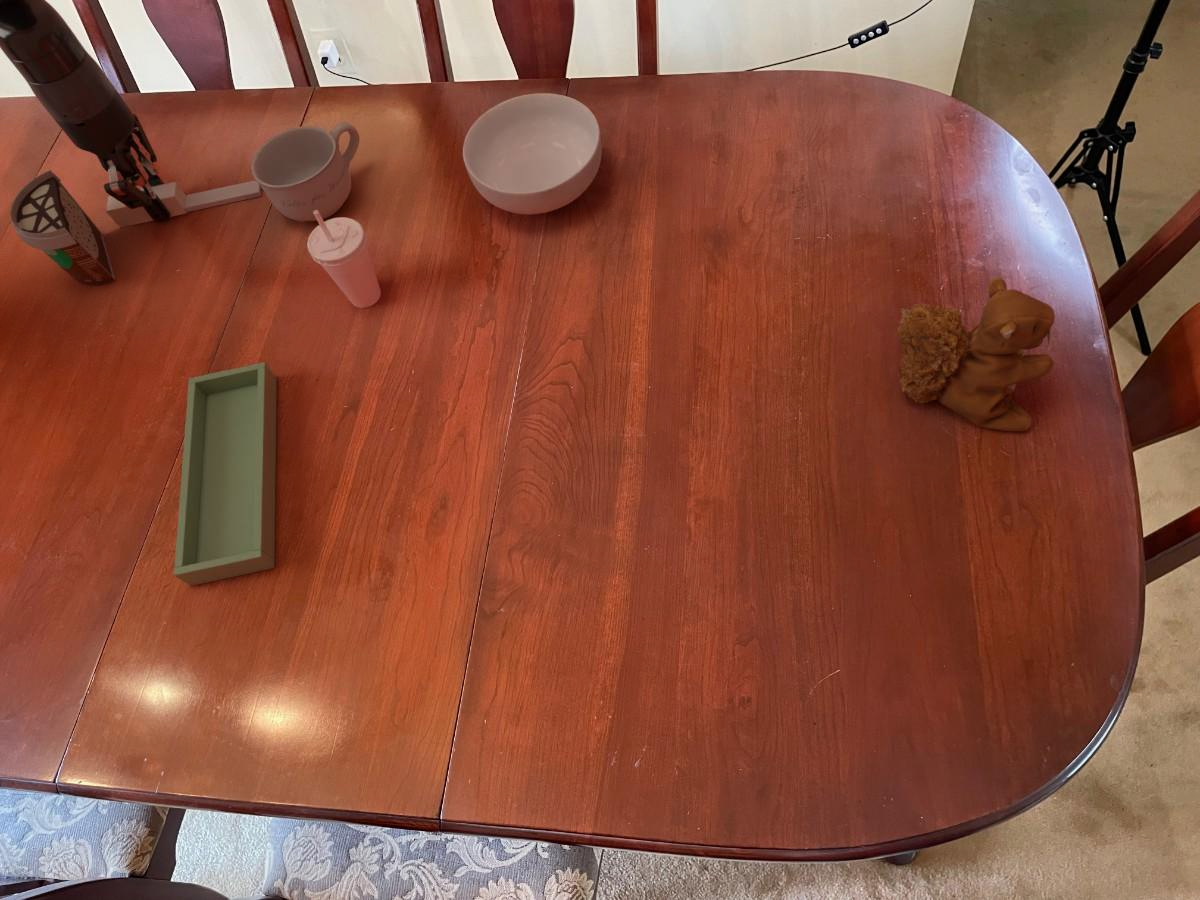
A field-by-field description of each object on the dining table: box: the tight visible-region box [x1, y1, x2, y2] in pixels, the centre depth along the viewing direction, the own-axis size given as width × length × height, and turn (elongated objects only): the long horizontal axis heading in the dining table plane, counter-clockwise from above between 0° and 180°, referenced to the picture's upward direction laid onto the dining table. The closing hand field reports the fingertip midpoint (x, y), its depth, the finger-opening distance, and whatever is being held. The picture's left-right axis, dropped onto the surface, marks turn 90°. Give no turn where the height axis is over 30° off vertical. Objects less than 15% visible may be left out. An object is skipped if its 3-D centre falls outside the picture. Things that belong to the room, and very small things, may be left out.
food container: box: [9, 169, 116, 286], centre depth 104 cm, size 12×6×10 cm, turn 27°
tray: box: [173, 361, 278, 587], centre depth 89 cm, size 24×9×3 cm, turn 10°
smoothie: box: [306, 210, 382, 309], centre depth 94 cm, size 6×6×14 cm
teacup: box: [250, 121, 360, 222], centre depth 106 cm, size 14×11×8 cm
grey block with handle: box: [105, 179, 263, 229], centre depth 110 cm, size 19×3×3 cm, turn 101°
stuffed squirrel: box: [896, 277, 1056, 433], centre depth 80 cm, size 10×14×13 cm
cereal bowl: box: [462, 92, 603, 215], centre depth 103 cm, size 17×17×7 cm
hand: (164, 209), depth 111 cm, fingers closed on grey block with handle, 3 cm apart
